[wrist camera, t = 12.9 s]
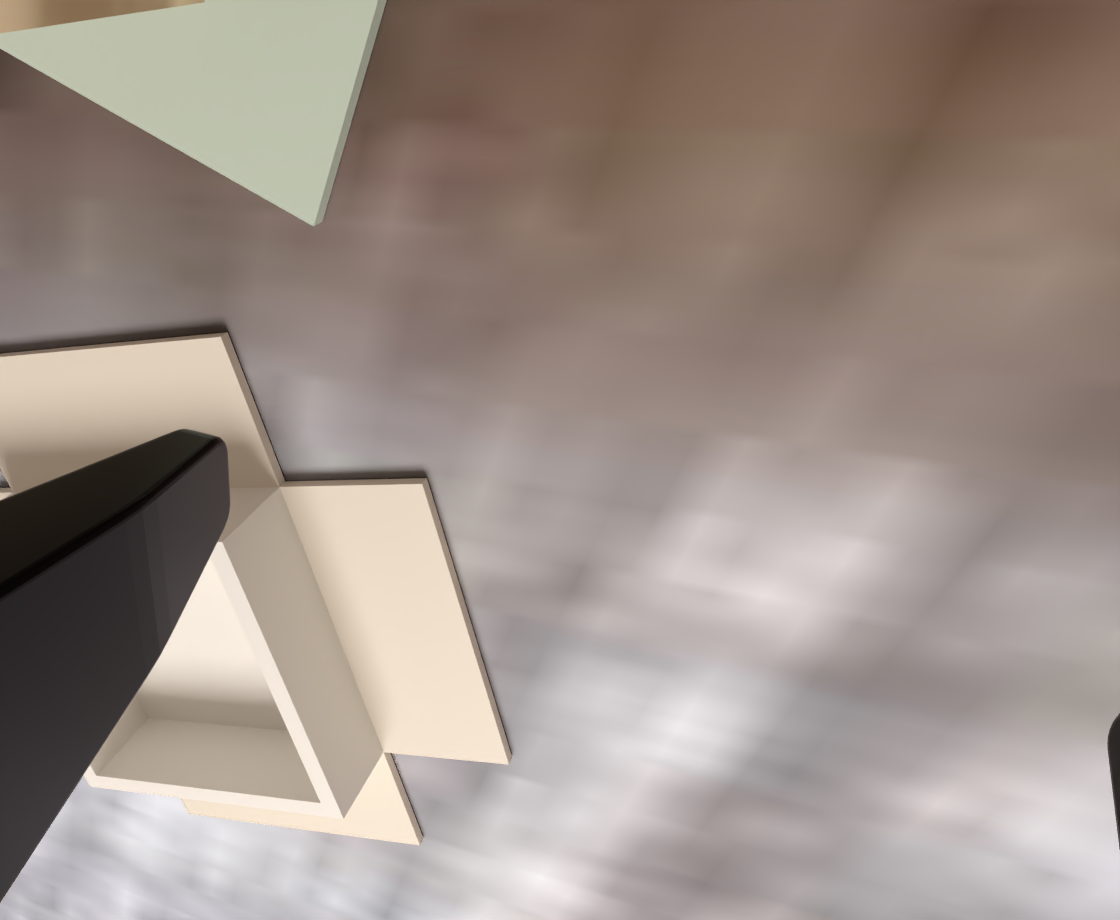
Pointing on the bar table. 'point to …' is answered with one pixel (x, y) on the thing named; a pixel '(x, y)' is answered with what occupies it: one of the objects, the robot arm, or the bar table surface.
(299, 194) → the rubber pad
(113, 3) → the box
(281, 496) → the carton
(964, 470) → the bar table surface
